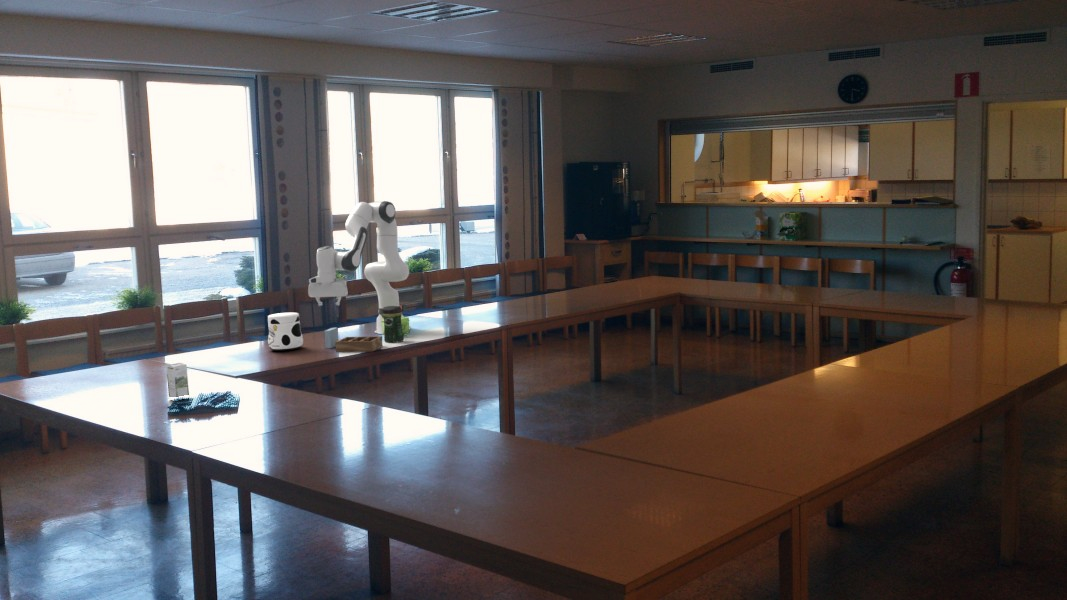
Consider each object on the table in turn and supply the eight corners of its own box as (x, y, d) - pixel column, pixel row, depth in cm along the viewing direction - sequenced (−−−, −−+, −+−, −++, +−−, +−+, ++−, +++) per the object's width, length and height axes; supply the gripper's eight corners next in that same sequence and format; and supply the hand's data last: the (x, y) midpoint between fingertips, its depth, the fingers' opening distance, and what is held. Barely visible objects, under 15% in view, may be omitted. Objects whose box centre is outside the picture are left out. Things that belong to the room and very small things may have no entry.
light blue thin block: (333, 344, 491) (332, 327, 490) (338, 344, 490) (337, 327, 489) (325, 348, 481) (324, 331, 480) (330, 348, 481) (329, 330, 479)
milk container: (261, 352, 480) (258, 317, 478) (285, 345, 495) (282, 311, 493) (287, 353, 472) (284, 317, 470) (310, 347, 487) (308, 312, 485)
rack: (347, 346, 483) (346, 336, 482) (382, 346, 479) (381, 336, 478) (336, 351, 469) (335, 341, 469) (372, 351, 465) (371, 341, 465)
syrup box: (182, 397, 384) (178, 362, 382) (190, 399, 380) (186, 363, 378) (169, 400, 379) (165, 364, 377) (177, 402, 375) (173, 366, 374)
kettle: (382, 339, 500) (381, 318, 498) (382, 335, 513) (380, 314, 512) (411, 337, 502) (409, 316, 501) (410, 333, 516) (408, 312, 514)
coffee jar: (406, 340, 493) (403, 305, 490) (397, 343, 486) (395, 307, 483) (390, 339, 497) (388, 304, 495) (381, 342, 490) (379, 306, 488)
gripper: (348, 277, 482) (350, 304, 484) (311, 278, 486) (313, 305, 488) (343, 278, 476) (345, 306, 478) (305, 279, 480) (308, 306, 482)
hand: (329, 305), depth 483 cm, fingers open, 8 cm apart
